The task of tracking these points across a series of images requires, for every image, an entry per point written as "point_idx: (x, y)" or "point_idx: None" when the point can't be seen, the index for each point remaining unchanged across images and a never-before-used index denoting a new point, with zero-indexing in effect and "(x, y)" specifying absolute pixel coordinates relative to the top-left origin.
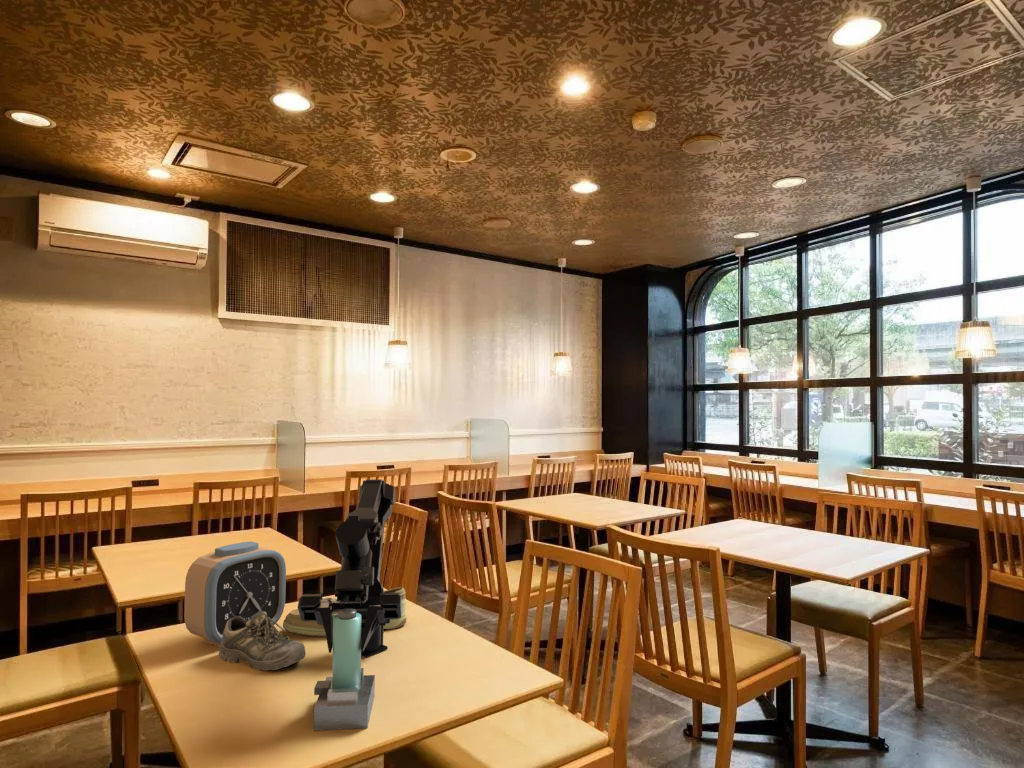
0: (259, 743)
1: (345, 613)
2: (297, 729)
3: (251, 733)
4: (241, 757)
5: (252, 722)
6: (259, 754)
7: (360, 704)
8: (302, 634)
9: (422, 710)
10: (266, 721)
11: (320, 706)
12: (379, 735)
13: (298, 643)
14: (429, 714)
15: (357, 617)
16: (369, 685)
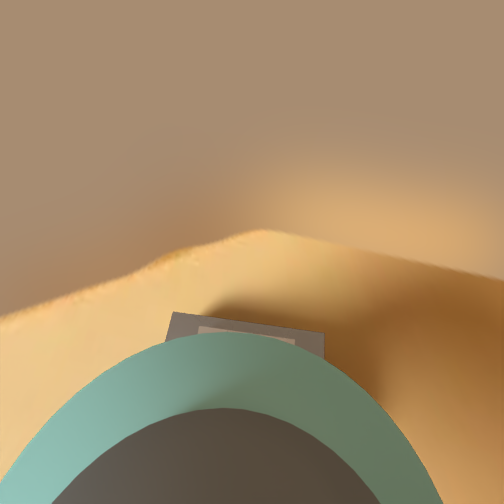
0: (417, 315)
1: (257, 471)
2: (350, 361)
3: (455, 367)
4: (431, 270)
5: (481, 432)
6: (400, 273)
7: (193, 318)
8: None
9: (17, 394)
10: (445, 429)
11: (307, 331)
12: (162, 289)
13: None
14: (10, 364)
15: (48, 493)
16: None
